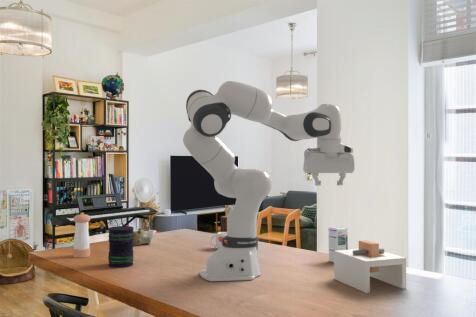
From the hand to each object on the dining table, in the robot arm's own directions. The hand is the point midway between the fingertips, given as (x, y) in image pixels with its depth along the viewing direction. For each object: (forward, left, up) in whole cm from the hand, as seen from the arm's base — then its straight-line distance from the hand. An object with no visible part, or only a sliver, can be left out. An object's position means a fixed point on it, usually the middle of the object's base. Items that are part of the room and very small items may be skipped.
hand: (329, 185), depth 156 cm
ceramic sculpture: (-59, +84, -34) cm, 108 cm away
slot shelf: (+7, -14, -33) cm, 37 cm away
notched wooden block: (+7, -14, -28) cm, 32 cm away
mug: (-22, +61, -33) cm, 73 cm away
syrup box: (+16, +18, -33) cm, 41 cm away
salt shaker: (-86, +64, -33) cm, 112 cm away
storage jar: (-71, +41, -33) cm, 89 cm away
